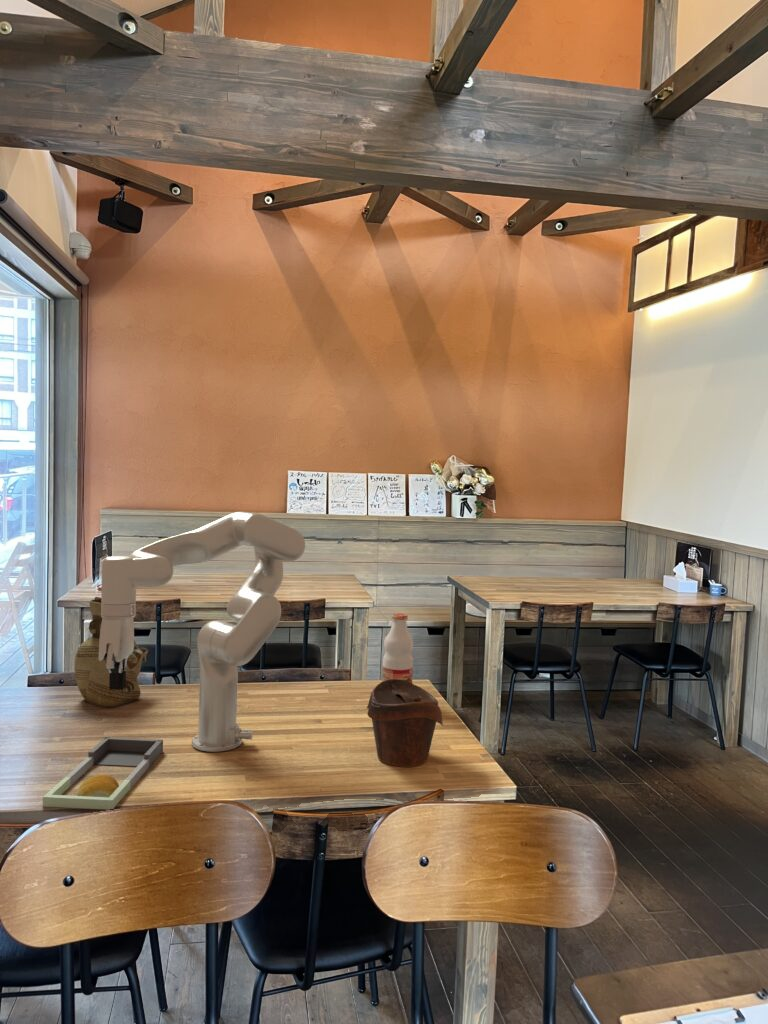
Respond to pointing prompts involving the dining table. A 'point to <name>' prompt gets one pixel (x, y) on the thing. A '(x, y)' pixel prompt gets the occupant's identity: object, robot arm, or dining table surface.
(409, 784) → the dining table surface
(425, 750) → the brown trash bin
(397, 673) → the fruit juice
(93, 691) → the ceramic vessel
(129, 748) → the channel
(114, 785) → the bread roll
